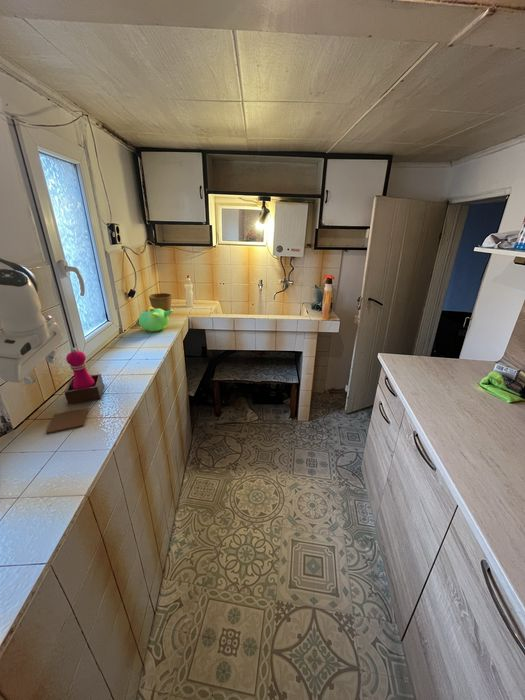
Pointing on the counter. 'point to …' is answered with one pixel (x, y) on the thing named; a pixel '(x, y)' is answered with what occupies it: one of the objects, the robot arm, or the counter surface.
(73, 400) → the mill holder
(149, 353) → the counter surface
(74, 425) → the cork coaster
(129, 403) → the counter surface
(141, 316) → the toy bird
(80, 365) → the pepper mill
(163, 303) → the plant pot
